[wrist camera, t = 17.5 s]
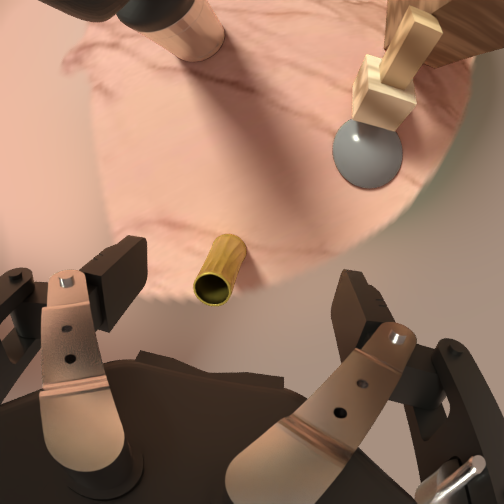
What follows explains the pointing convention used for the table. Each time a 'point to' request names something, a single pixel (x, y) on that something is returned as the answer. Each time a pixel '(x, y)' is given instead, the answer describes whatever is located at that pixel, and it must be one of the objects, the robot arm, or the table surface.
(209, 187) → the table surface
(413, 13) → the mallet
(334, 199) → the table surface
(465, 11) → the herringbone wood pillar
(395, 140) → the grey flat disc
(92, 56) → the table surface
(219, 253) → the vase
